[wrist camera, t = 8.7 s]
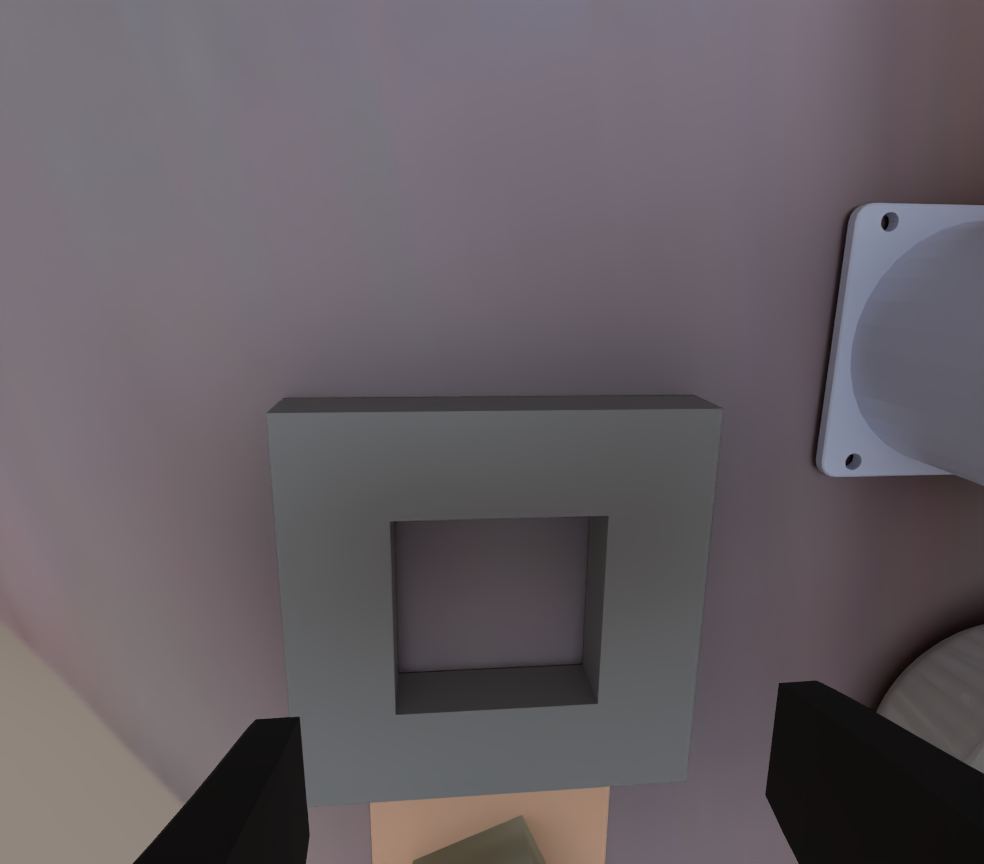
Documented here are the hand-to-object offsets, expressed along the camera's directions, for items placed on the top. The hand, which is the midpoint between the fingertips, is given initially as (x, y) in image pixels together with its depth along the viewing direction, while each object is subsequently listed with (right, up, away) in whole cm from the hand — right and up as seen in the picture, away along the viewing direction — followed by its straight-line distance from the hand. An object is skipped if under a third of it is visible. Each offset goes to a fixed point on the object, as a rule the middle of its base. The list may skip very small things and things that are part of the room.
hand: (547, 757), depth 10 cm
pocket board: (-1, 0, +11) cm, 11 cm away
